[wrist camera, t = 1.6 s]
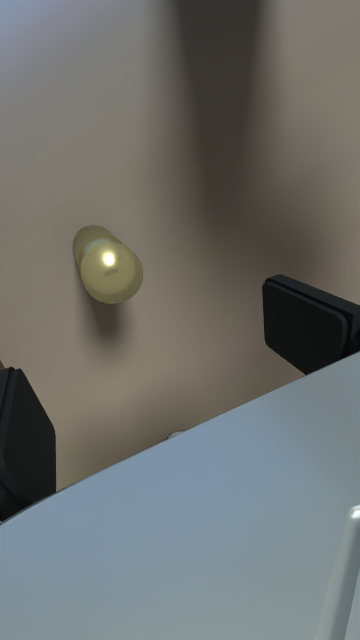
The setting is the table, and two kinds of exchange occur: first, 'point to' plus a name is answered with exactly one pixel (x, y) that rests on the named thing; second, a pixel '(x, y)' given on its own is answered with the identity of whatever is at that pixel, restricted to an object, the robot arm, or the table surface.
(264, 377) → the table surface
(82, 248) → the brass pin
